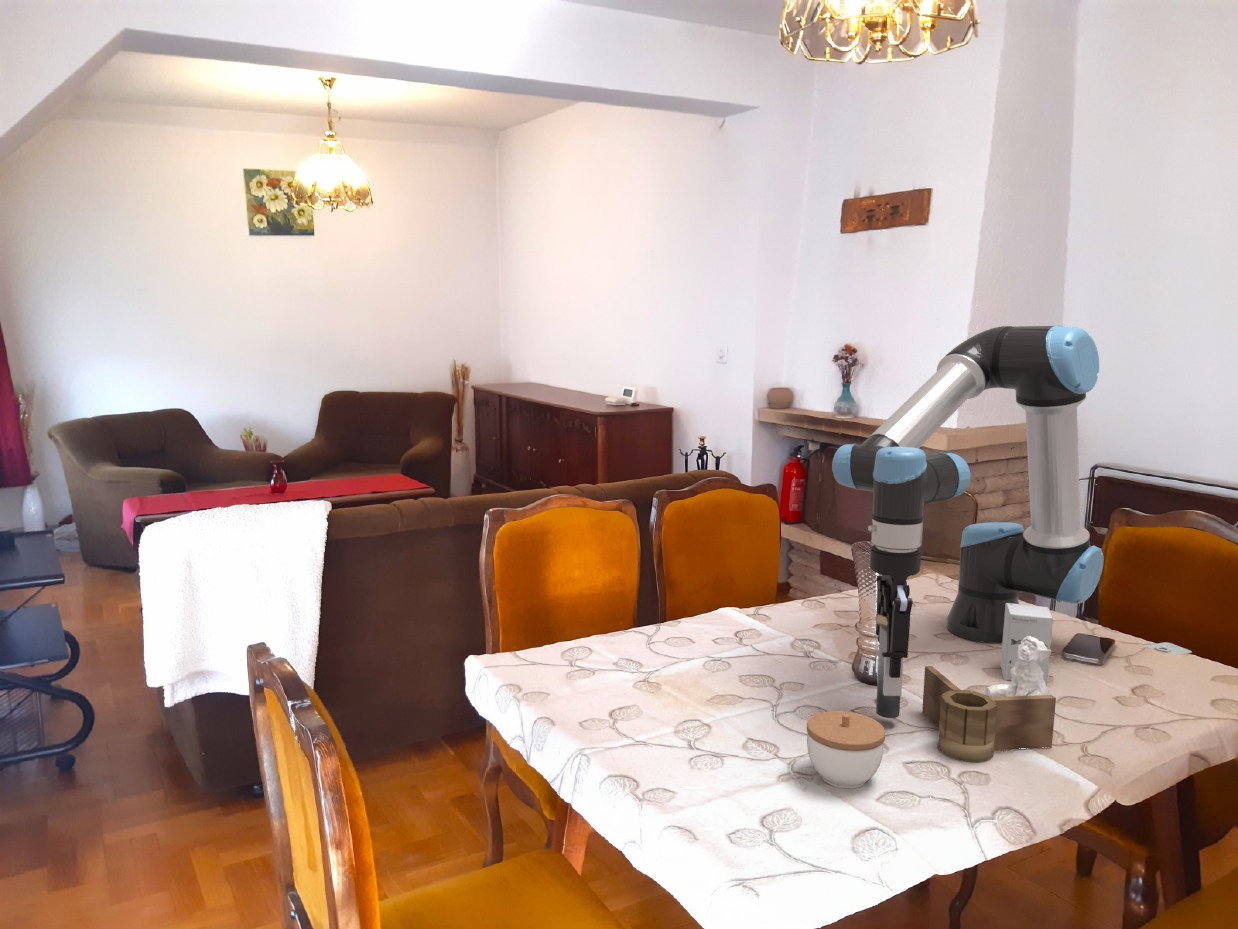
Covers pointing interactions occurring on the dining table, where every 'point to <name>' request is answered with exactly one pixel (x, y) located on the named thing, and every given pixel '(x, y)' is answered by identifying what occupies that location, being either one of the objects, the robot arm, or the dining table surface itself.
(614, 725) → the dining table surface
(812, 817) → the dining table surface
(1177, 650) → the mounting bracket
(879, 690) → the hinge pin
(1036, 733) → the hinge
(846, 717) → the lidded jar
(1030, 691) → the sitting furry creature
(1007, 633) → the supplement box
